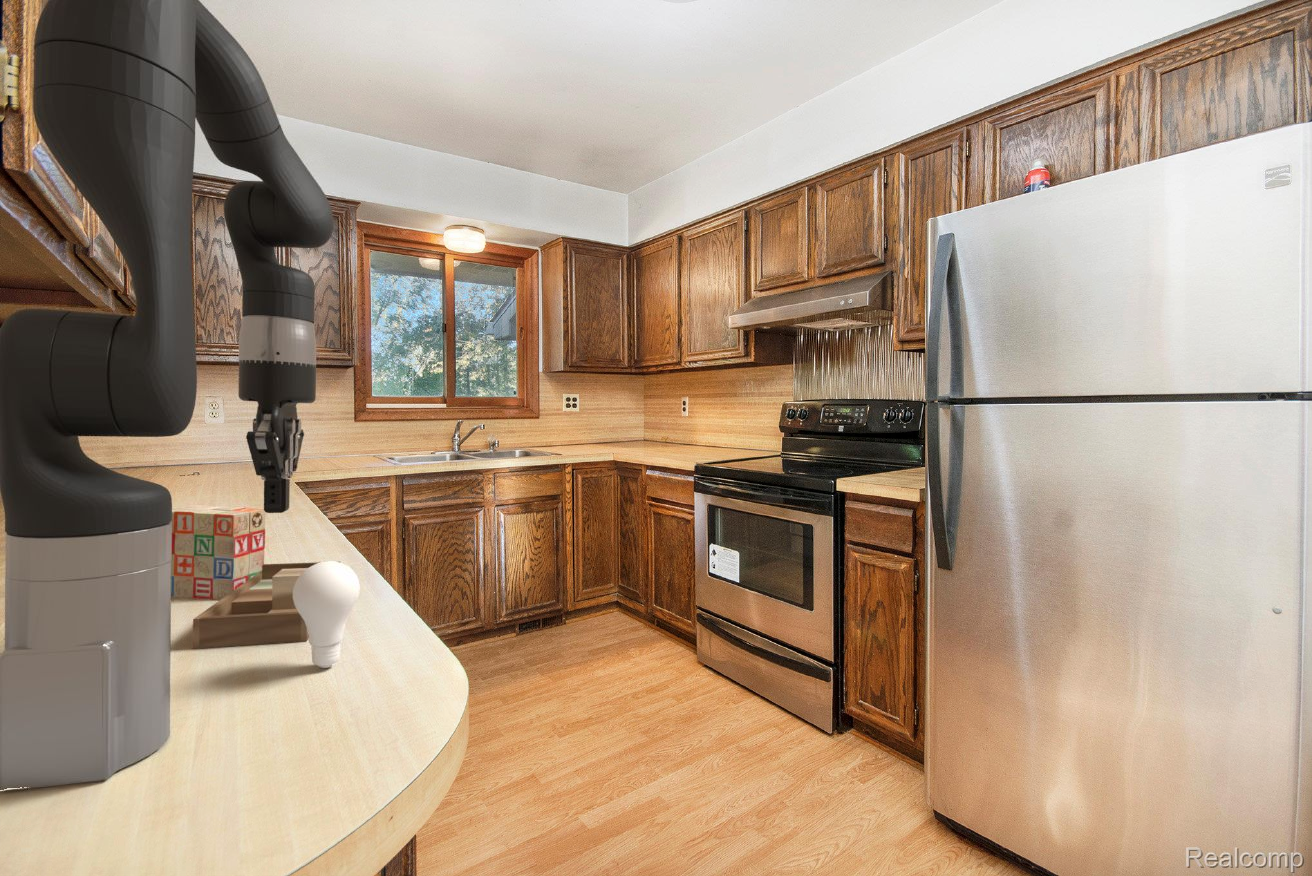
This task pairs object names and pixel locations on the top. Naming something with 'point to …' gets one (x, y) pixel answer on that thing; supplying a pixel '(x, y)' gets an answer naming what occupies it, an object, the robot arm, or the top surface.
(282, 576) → the beech block
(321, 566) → the lightbulb
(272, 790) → the top surface
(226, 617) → the board
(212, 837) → the top surface
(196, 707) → the top surface
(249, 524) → the stack of blocks
